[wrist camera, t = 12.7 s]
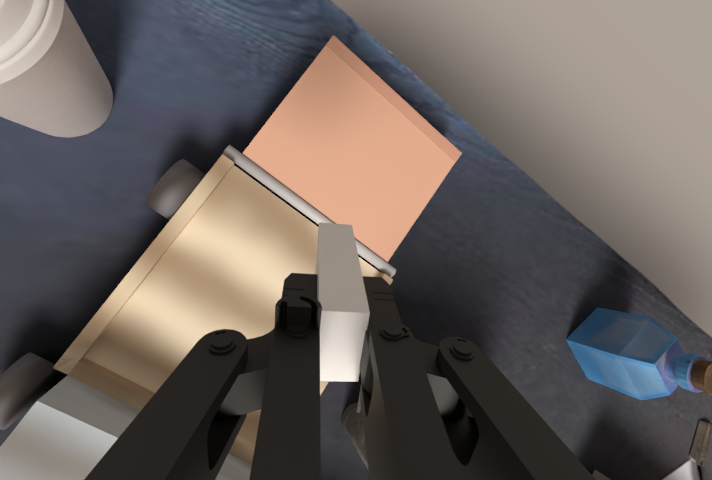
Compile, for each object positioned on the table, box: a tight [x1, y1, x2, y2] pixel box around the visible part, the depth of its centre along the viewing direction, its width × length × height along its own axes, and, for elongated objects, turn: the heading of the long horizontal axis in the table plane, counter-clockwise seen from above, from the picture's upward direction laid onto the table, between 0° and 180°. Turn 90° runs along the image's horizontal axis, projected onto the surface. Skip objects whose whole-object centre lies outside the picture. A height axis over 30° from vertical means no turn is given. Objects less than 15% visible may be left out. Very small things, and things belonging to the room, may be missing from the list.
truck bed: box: [0, 154, 393, 480], centre depth 27 cm, size 24×21×8 cm
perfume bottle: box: [566, 307, 712, 400], centre depth 39 cm, size 6×6×12 cm
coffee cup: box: [0, 0, 113, 137], centre depth 20 cm, size 10×10×15 cm
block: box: [689, 420, 712, 466], centre depth 51 cm, size 4×6×2 cm, turn 160°
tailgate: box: [223, 35, 462, 278], centre depth 31 cm, size 2×17×13 cm
